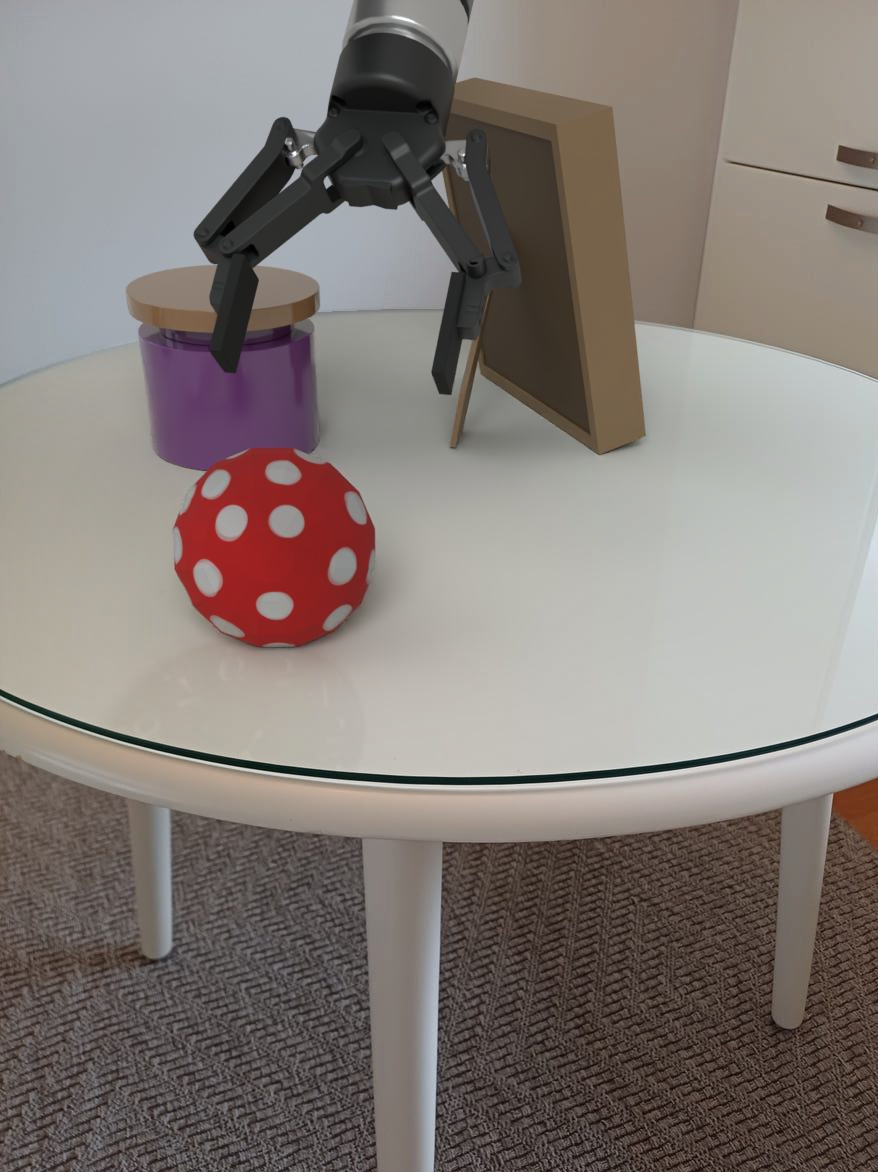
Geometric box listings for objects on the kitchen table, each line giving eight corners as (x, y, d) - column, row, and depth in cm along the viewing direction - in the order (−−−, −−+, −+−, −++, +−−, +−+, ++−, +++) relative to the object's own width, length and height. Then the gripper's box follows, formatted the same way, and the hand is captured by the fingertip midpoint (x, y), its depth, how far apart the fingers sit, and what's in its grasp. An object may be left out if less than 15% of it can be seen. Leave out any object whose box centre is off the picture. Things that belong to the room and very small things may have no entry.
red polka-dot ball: (263, 408, 70) (230, 402, 56) (411, 507, 72) (418, 526, 58) (169, 556, 72) (114, 588, 57) (318, 649, 74) (301, 703, 59)
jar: (112, 462, 84) (88, 301, 78) (193, 403, 96) (178, 258, 90) (288, 483, 82) (278, 318, 76) (349, 420, 94) (344, 272, 88)
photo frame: (521, 369, 107) (535, 76, 94) (644, 447, 90) (682, 105, 78) (375, 386, 101) (369, 78, 89) (478, 473, 85) (489, 109, 72)
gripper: (595, 123, 73) (542, 422, 68) (234, 102, 77) (160, 382, 72) (590, 34, 66) (531, 361, 61) (193, 17, 70) (107, 321, 65)
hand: (329, 373), depth 67 cm, fingers open, 13 cm apart
